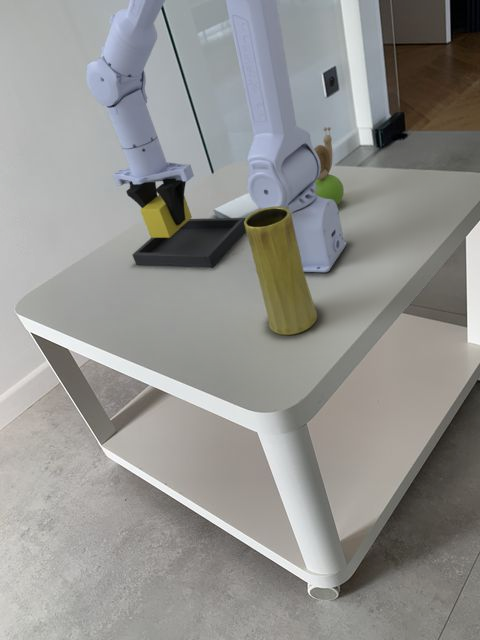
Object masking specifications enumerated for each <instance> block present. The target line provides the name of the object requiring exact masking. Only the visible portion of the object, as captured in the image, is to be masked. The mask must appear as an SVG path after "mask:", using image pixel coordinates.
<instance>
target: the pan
mask: <svg viewBox="0 0 480 640" xmlns="http://www.w3.org/2000/svg"><path fill="white" fill-rule="evenodd" d="M245 219H246V218H218V217H215V218H213V217H211V218H210V217H209V218H191V219H190V220H189V221H187V222H186V223H185V224H184V225H183V226H182V227H181V228H180V229H179V230H178V231H177V232H175V233H174V234H173V235H172V236H171V237H170V238H151V237H150V239H148V240H146V242H145V243H143V244H142V245H141V246H140V247H139V248H138V249H137V250H136V251H134V252H133V253H132V255H131V256H132V258H133V260H134V262H135V265H136V266H161V267H190V268H192V267H194V268H214V266H215V265H217V263H218V262H219V261H220V260H221V259H222V257H223V256H225V254H226V253H228V251H229V250H230V249H231V248H232V247H233V246H234V245H235V244H236V242H237V241H238V240H239V239H240V238H241V237H242V236H243V235H244V234H245V233H246V229H245V225H244V221H245Z"/></svg>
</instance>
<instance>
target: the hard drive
mask: <svg viewBox="0 0 480 640" xmlns="http://www.w3.org/2000/svg"><path fill="white" fill-rule="evenodd" d="M260 209H261V208H259V207H258V206H257V205H256V204H255V203H254V201H253V200H252V198H251V196H250V194H249V192H248V193H245V194H244V195H243V194H242V195H241V196H238V197H237V198H235V199H232V200H230V201H228V202H225V203H224V204H221V205H220V206H218V207H215V208H213V213H214V216H215V218H247V217H248V216H249V215H250V214H252V213H254V212H255V211H258V210H260Z"/></svg>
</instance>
